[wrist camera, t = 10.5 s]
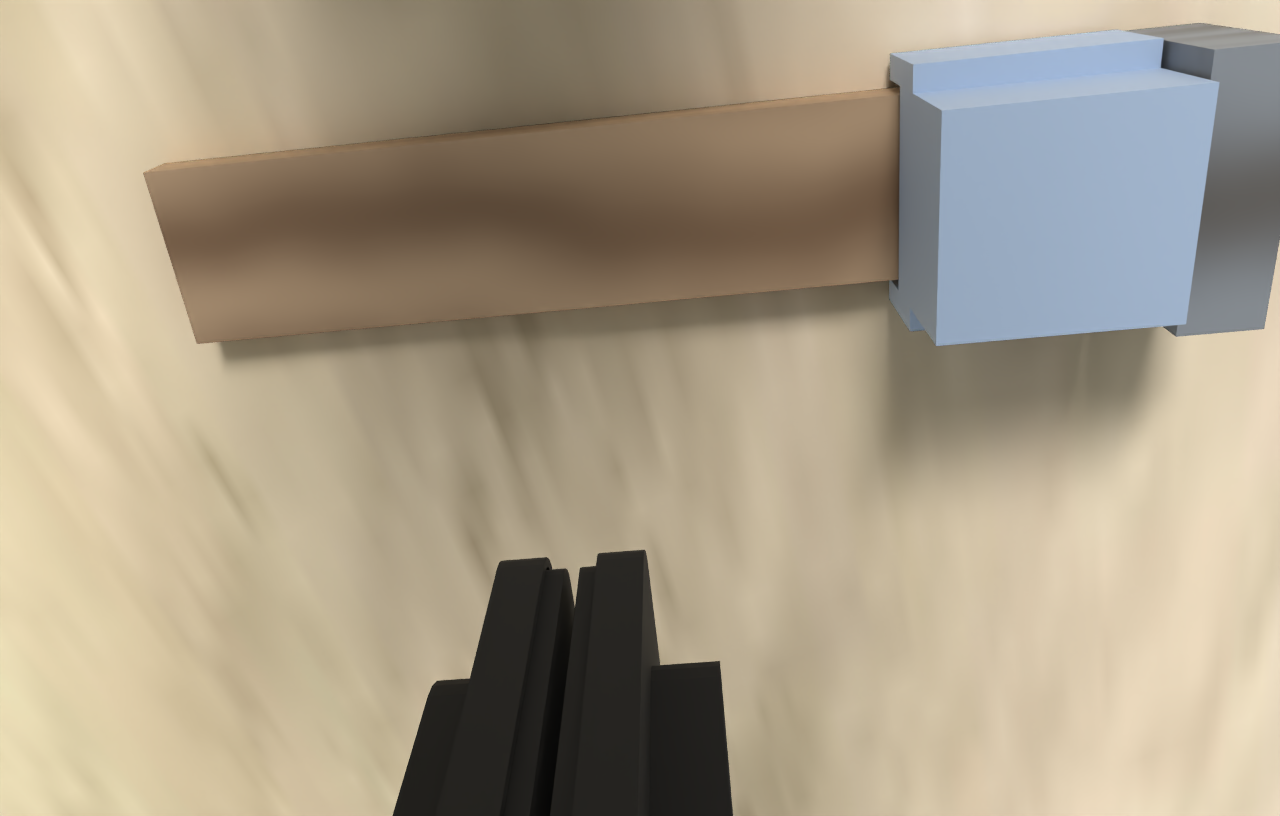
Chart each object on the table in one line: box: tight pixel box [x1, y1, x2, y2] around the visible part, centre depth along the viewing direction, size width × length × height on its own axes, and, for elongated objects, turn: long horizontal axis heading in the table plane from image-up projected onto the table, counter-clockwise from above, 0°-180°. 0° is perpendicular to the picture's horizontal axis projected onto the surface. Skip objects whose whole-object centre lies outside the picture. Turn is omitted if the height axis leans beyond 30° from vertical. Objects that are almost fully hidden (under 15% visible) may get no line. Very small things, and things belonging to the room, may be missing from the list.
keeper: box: [889, 30, 1220, 346], centre depth 30 cm, size 8×7×6 cm
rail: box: [143, 23, 1280, 344], centre depth 31 cm, size 8×34×6 cm, turn 96°
